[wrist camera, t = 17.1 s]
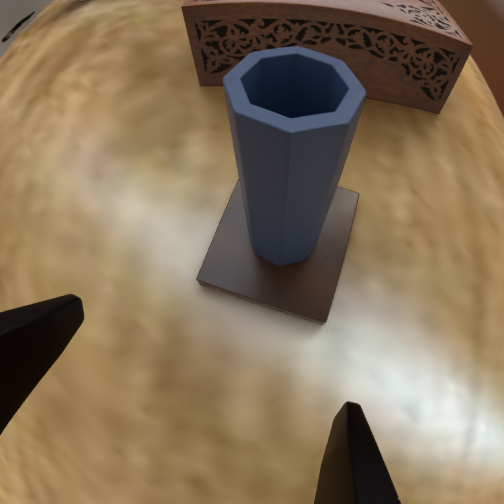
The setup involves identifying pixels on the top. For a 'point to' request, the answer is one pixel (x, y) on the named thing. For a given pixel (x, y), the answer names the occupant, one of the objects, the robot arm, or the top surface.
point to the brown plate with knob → (280, 277)
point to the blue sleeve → (290, 143)
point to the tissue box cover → (338, 41)
